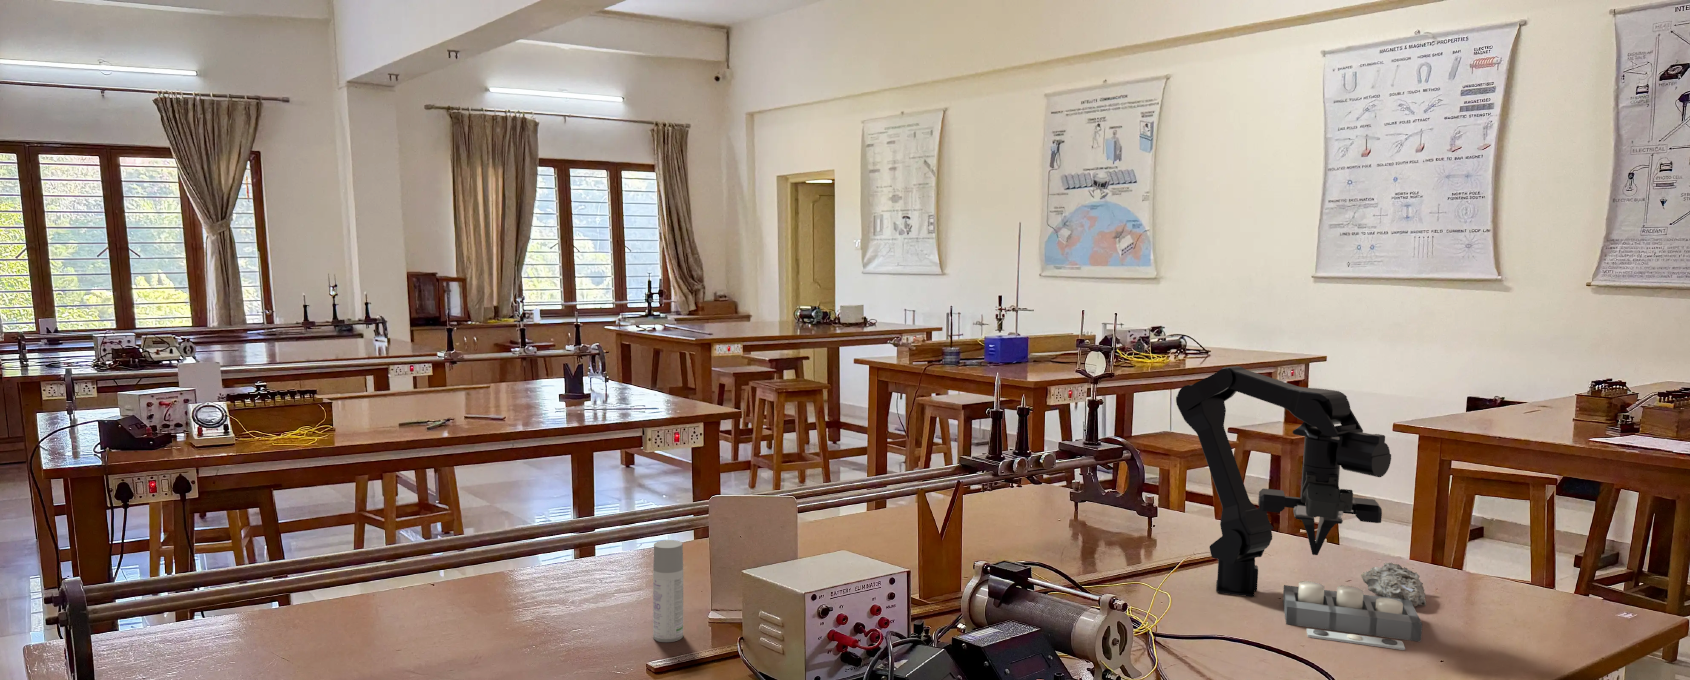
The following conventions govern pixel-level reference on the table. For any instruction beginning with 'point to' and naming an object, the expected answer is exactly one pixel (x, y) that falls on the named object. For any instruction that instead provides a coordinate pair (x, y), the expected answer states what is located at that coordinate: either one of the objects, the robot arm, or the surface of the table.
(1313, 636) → the card
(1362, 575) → the mineral specimen
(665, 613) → the container
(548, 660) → the table surface
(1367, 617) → the button board
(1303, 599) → the button left
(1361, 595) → the button middle
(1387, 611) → the button right
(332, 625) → the table surface
